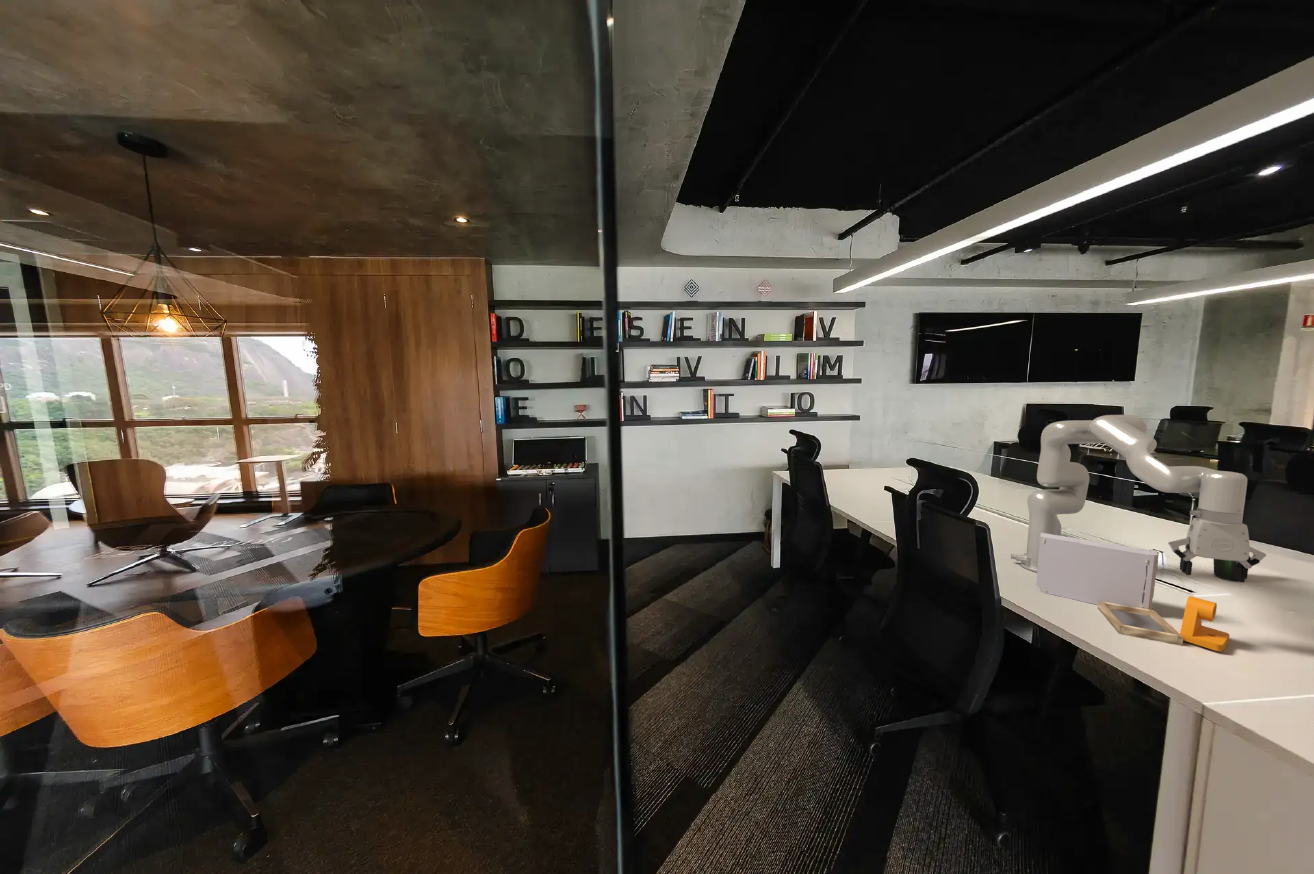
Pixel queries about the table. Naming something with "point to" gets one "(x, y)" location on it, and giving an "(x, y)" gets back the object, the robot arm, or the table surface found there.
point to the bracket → (1195, 630)
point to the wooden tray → (1139, 623)
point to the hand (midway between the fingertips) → (1211, 576)
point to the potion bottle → (1224, 569)
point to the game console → (1096, 571)
